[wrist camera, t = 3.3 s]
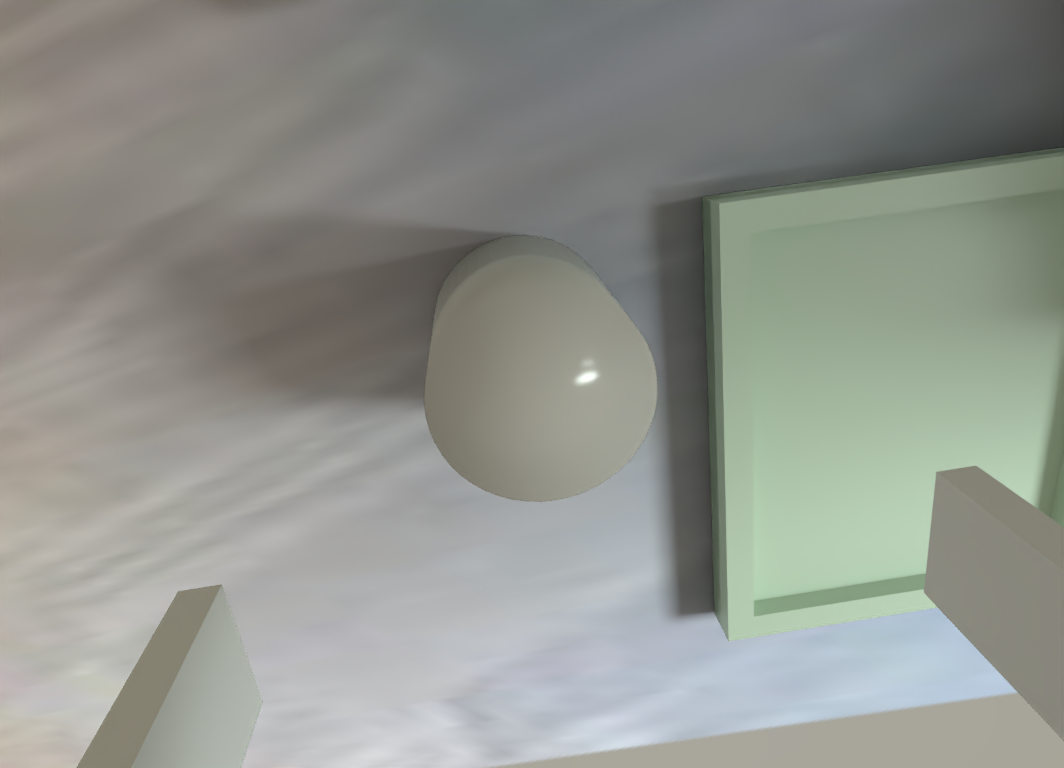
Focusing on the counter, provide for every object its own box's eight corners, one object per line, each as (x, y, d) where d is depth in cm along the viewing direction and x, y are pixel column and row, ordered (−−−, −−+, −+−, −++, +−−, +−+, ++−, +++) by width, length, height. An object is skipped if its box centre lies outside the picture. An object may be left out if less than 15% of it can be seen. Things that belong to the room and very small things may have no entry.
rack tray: (702, 196, 27) (719, 203, 26) (1125, 138, 28) (1171, 141, 26) (714, 612, 35) (728, 641, 33) (1048, 559, 36) (1080, 584, 34)
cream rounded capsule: (419, 248, 27) (403, 303, 20) (600, 223, 28) (651, 268, 20) (449, 414, 30) (445, 517, 23) (614, 389, 30) (663, 483, 23)
